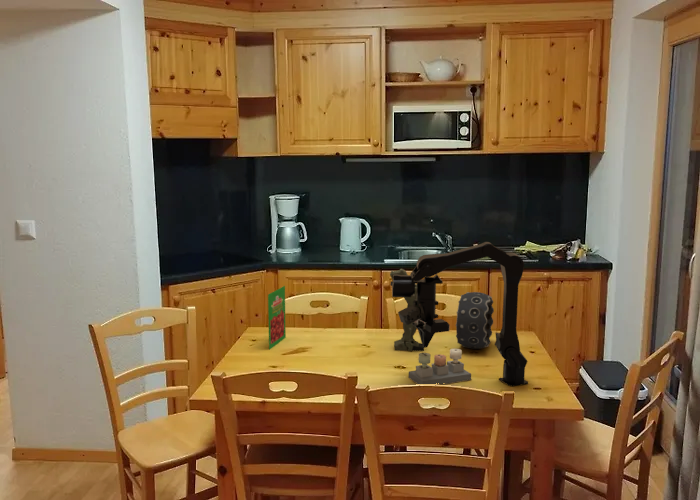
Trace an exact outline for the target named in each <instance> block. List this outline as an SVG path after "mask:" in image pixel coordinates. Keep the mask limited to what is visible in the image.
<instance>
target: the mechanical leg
mask: <svg viewBox="0 0 700 500" xmlns="http://www.w3.org/2000/svg"><path fill="white" fill-rule="evenodd" d="M394 274H398V275H409V274H408V273H407V271H406V270H405V269H404V268H400V269H399V270H391V271H390V272H389V276H390V278H391V279H392V281H390V286H391V287H392V284H393V275H394ZM403 299H404V301H405V302H406V303H407V306H406V308H407V307H410V306H412V305H413V301H414V300H416V299H417V283H415V294H413V295H411V297H403ZM412 323H414V322H412ZM412 323H411V324H409V325H405V324H404V323H403V322H402V329H403V332H402V337H400V339H397V340H394V342H393V349H394V351H400V352H401V351H405V352H408V351H409V352H425V348H424V347H423V346H422V342H419V341H416V340H415V338H414V336H415V334H416V332H417V330H418V329H417V328H416V327H415V326H414V325H412Z"/></svg>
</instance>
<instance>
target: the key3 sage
mask: <svg viewBox="0 0 700 500" xmlns="http://www.w3.org/2000/svg"><path fill="white" fill-rule="evenodd" d="M418 363H419V364H420V365H422V368H423V369H424V368H427V365H429V364H430V363H431V354H430V353H428V352H419V353H418Z"/></svg>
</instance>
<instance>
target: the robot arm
mask: <svg viewBox="0 0 700 500" xmlns="http://www.w3.org/2000/svg"><path fill="white" fill-rule="evenodd" d="M484 258H489V259H491V260H493V261H494V262H496V263H497V264H499V265H500V271H501V276H502V280H503V298H502V299H503V301H502V304H503V305H502V321H501V322H502V324H501V330H500V332H495V342H494V346H495V347H496V348H497V351H498V352H499V354H500V356H501V357H502V358H503V359H504V360H503V367H502V368H503V369H502V371H503V372H502V377H498V380H499V381H500V382H502V383H504V384H506V385H508V386H509V387H517V386H518V387H519V386H523V385H529V381H528V380H526V379H525V376H526V375H525V373H526V366H527V364H528V360H527V358H526V357H525V355H524V354H523V352H522V351H521V348H520V339H519V336H518V331H517V325H518V324H517V323H518V306H519V305H518V302H519V285H520V282H521V280H522V277H523V273H524V268H525V261H524V259H522V257H521V256H519V255H518V254H516V253H514V252H506V251H504V250H502V249H500V248H499V247H497V246H495V245H493V244H492V243H491V242H489V241H484V242H481V243H480V244H477V245H472V246H468V247H464V248H462V249H458V250H454V251H451V252H446V253H429V254H422V255H421V256H419V257H418V259H417V261H416V266H415V267H414V268H413V270H412V271H411V272H410V274H408V275H398V274H394V275H393V280H392V281H393V284H392V286H391V297H392V298H404V297H411V295H413V294H415V284H417V299H416V300H414V301H413V305H412V306H410V307H407V306H406V307H404V308H403V309H401V310H399V311H398V312H397V314H398V317H399V320H400V322H401V323H402V324H403V323H404V324H405V325H409V324H411V323H412V322H414V323H412V325H414V326H415V327H416V328H417V329H416V330H417V332H418V334H419V335H418V336H419V338H420V341H421V342H420V343H421V344H422V346H423V347H424V349H425V348H428V346H429V344H430V343H431V341H432V339H433V337H434V335H435V334H438V333H443V332H444V333H445V332H450V324H449V322H448V321H446V320H444V319H443V318H439V314H436V306H439V300H438V301H437V300H436V299H437V298H436V297H437V294H436V293H437V284H440V285H441V284H443V279H441V278H440V277H439V275H438V274H440V273H441V272H444V271H445V270H446V269H448V268H451V267H455V266H458V265H461V264H465V263H466V264H467V263H470V262H473V261H477V260H480V259H481V260H482V259H484Z"/></svg>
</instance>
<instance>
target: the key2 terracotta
mask: <svg viewBox="0 0 700 500" xmlns="http://www.w3.org/2000/svg"><path fill="white" fill-rule="evenodd" d="M433 358H434V359H433V361H434V362H433V363H434V364H435V365H438V366H443V365H447V356H446V355H445V354H441V353H440V354H435V355H434V357H433Z"/></svg>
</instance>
